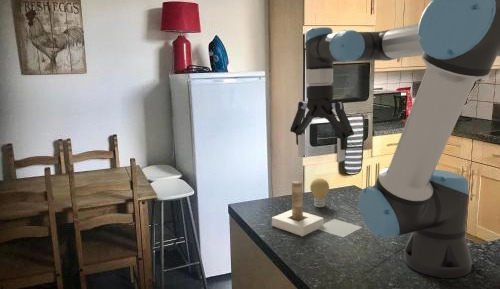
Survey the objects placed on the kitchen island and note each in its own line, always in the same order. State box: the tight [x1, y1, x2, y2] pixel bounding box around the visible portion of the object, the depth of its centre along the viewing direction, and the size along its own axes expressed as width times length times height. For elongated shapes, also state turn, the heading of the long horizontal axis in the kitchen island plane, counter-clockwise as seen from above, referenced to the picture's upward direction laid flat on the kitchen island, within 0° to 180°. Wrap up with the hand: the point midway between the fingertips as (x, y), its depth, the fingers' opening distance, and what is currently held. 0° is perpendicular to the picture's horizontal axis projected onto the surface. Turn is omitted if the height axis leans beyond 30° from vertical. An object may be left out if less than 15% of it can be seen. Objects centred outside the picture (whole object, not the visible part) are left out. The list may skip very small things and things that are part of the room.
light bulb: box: [309, 177, 330, 208], centre depth 145 cm, size 6×6×10 cm
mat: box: [318, 218, 363, 238], centre depth 126 cm, size 10×10×1 cm
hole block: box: [271, 209, 325, 237], centre depth 128 cm, size 12×10×3 cm
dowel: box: [291, 180, 304, 222], centre depth 127 cm, size 3×3×14 cm
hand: (320, 158), depth 123 cm, fingers open, 13 cm apart
